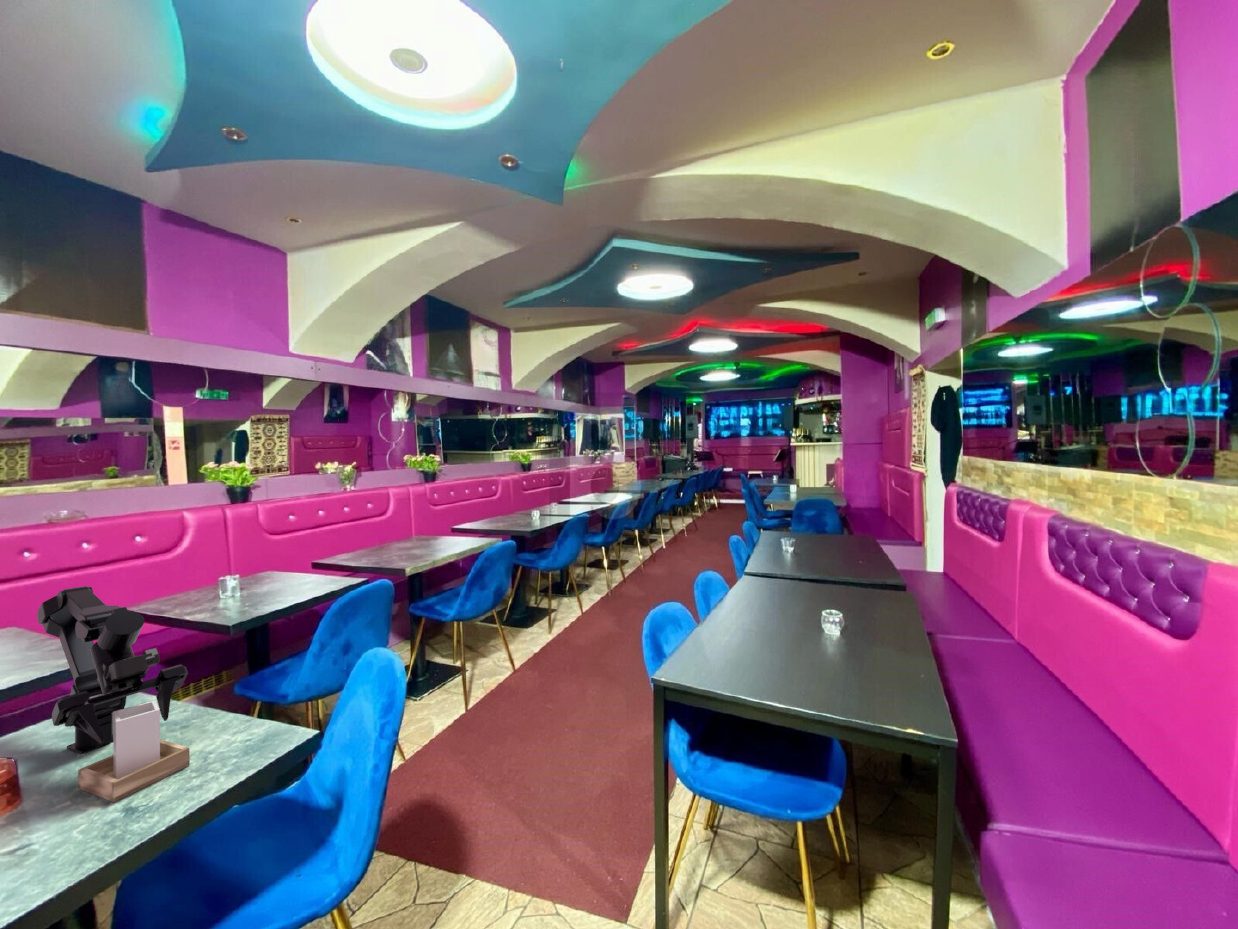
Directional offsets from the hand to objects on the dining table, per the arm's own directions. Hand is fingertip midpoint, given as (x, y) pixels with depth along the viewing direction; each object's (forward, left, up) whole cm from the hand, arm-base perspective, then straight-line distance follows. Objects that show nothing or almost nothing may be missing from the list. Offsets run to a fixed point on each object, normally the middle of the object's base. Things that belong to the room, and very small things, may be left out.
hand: (135, 730), depth 95 cm
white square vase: (0, 0, -8) cm, 8 cm away
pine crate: (0, 0, -9) cm, 9 cm away
